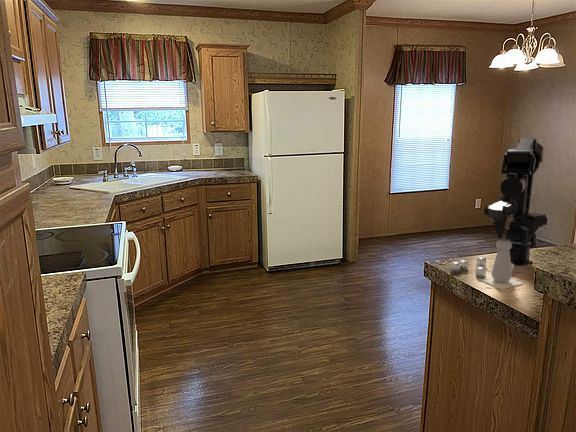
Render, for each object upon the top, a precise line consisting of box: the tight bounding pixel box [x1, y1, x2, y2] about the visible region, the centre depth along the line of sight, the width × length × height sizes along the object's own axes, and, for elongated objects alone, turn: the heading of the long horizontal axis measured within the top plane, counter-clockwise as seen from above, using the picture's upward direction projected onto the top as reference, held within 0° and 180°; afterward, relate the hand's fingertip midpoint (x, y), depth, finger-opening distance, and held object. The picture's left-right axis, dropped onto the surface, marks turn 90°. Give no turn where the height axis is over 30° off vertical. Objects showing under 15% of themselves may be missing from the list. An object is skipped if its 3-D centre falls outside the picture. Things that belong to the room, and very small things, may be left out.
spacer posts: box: [450, 256, 515, 279], centre depth 150 cm, size 18×11×3 cm, turn 112°
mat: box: [479, 276, 524, 290], centre depth 141 cm, size 9×8×1 cm
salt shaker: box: [491, 239, 513, 284], centre depth 139 cm, size 6×6×13 cm
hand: (511, 241), depth 139 cm, fingers open, 9 cm apart
